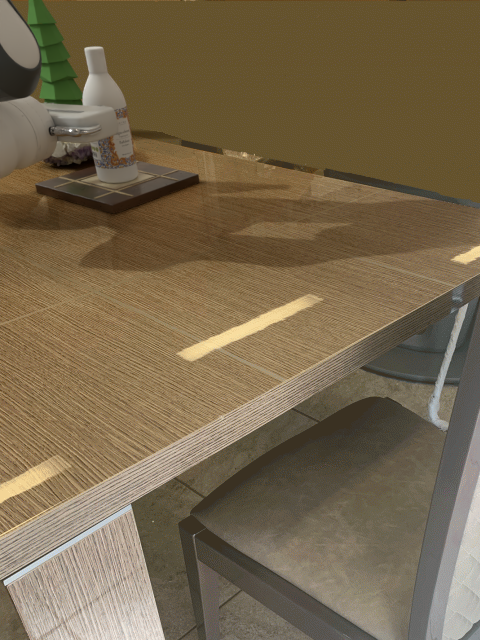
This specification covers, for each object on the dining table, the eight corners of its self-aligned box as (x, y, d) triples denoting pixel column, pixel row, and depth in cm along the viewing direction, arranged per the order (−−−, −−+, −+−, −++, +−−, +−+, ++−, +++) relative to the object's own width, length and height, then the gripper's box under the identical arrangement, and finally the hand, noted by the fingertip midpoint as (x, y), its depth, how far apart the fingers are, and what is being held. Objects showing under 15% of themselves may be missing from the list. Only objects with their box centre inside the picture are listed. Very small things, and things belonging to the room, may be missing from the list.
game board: (36, 192, 112) (34, 183, 111) (124, 165, 125) (122, 156, 124) (113, 214, 103) (111, 204, 102) (199, 182, 116) (198, 173, 115)
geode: (66, 201, 124) (130, 171, 130) (55, 160, 116) (124, 130, 122) (17, 154, 129) (81, 127, 135) (3, 111, 120) (72, 84, 127)
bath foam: (116, 186, 109) (90, 52, 97) (90, 179, 112) (61, 48, 100) (147, 176, 114) (125, 46, 101) (120, 170, 117) (97, 43, 105)
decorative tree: (39, 137, 143) (-3, -27, 125) (67, 128, 150) (31, -29, 132) (74, 141, 140) (37, -27, 122) (101, 131, 147) (70, -29, 129)
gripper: (82, 109, 85) (133, 90, 96) (-46, 101, 90) (17, 84, 100) (92, 158, 89) (141, 135, 100) (-31, 149, 94) (28, 127, 104)
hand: (78, 109), depth 100 cm, fingers open, 8 cm apart
